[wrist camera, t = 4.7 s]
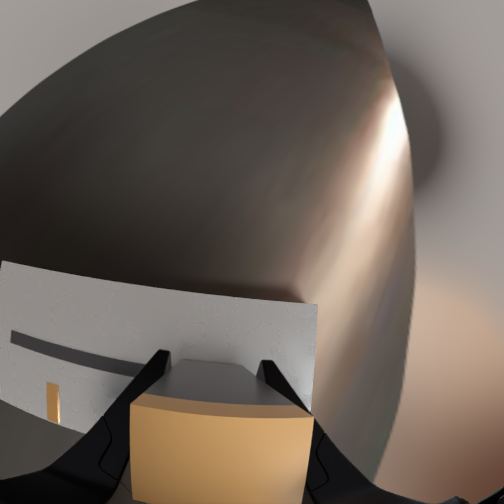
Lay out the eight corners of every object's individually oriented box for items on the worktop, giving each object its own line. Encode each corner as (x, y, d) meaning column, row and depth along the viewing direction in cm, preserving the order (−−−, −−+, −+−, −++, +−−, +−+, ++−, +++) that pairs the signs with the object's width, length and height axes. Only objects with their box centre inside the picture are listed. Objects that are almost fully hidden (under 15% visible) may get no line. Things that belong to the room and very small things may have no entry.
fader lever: (241, 364, 14) (313, 416, 4) (238, 402, 13) (300, 507, 4) (181, 359, 13) (130, 403, 4) (178, 396, 13) (132, 499, 3)
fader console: (308, 307, 17) (318, 304, 16) (296, 447, 14) (305, 456, 13) (13, 266, 15) (1, 259, 13) (2, 391, 12) (-10, 394, 10)
